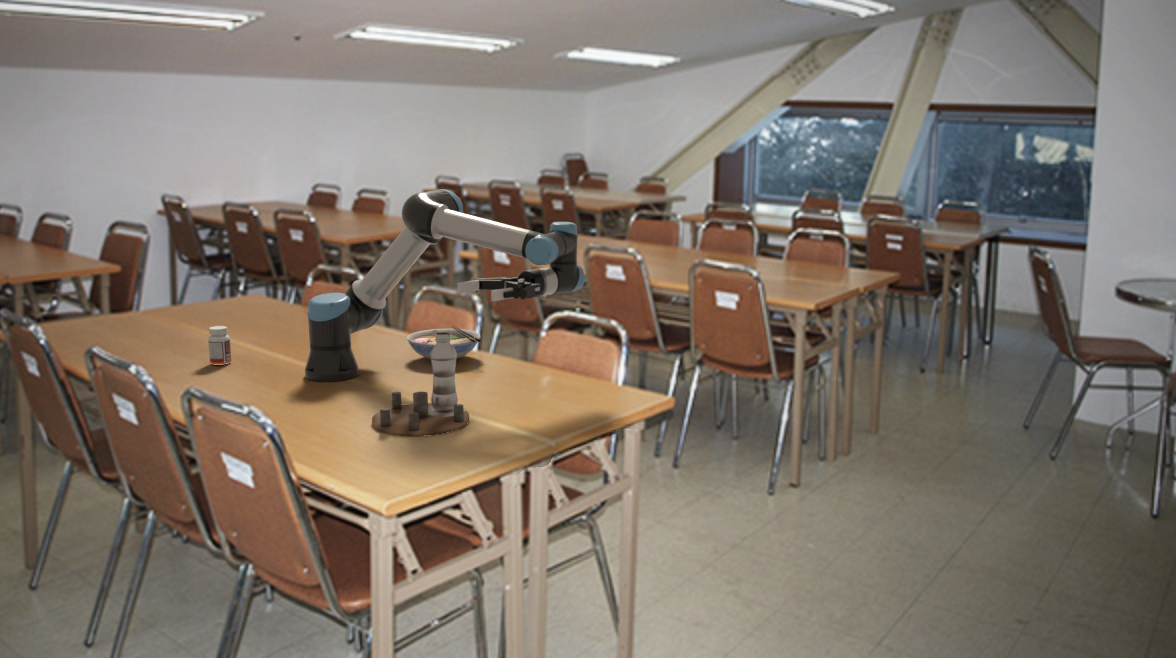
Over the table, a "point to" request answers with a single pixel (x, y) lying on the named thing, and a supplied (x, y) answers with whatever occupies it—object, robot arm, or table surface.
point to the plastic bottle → (443, 373)
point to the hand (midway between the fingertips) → (474, 292)
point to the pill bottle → (219, 345)
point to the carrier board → (423, 423)
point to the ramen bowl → (459, 340)
